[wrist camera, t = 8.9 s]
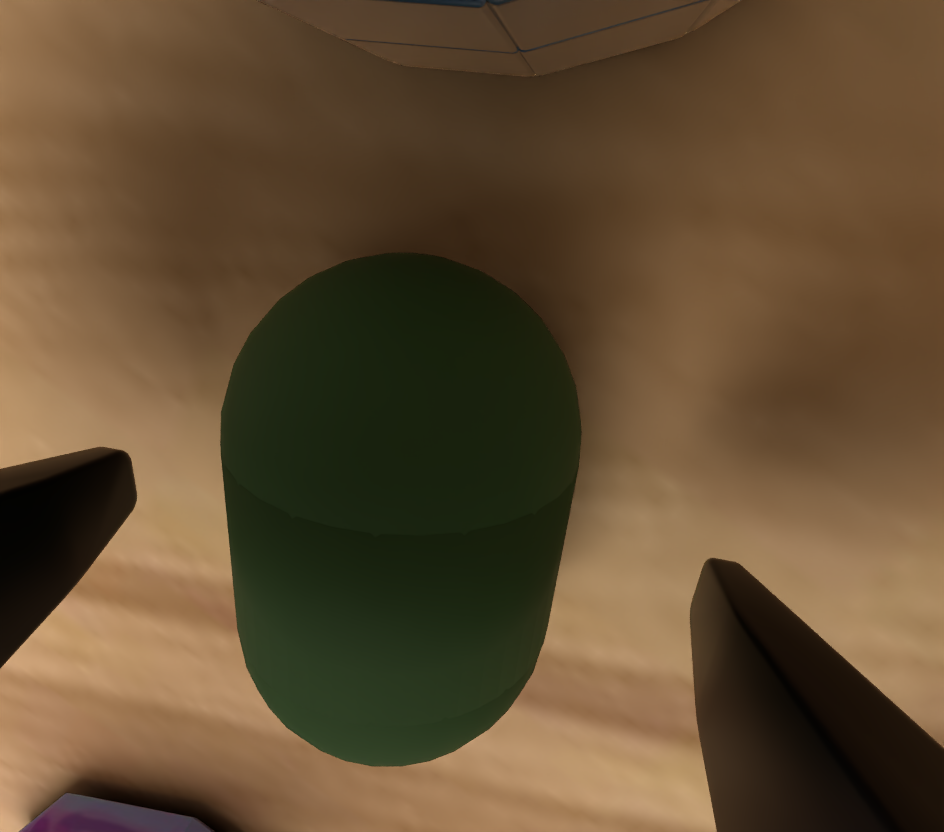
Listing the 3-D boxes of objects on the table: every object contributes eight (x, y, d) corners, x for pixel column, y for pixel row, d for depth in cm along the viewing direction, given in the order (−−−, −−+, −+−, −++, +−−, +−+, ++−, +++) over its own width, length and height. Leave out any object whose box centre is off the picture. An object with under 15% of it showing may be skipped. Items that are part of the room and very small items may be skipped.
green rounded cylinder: (543, 634, 13) (500, 891, 8) (327, 581, 14) (181, 788, 9) (616, 253, 9) (609, 341, 5) (322, 215, 10) (90, 260, 6)
